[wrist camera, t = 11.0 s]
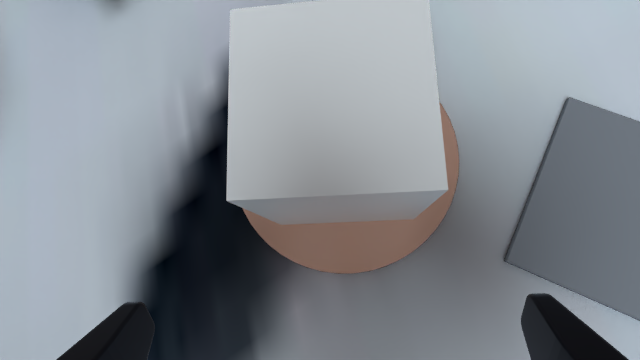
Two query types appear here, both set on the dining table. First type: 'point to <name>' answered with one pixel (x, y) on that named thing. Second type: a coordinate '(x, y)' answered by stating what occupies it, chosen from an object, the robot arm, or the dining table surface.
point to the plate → (362, 230)
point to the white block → (334, 111)
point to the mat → (586, 209)
